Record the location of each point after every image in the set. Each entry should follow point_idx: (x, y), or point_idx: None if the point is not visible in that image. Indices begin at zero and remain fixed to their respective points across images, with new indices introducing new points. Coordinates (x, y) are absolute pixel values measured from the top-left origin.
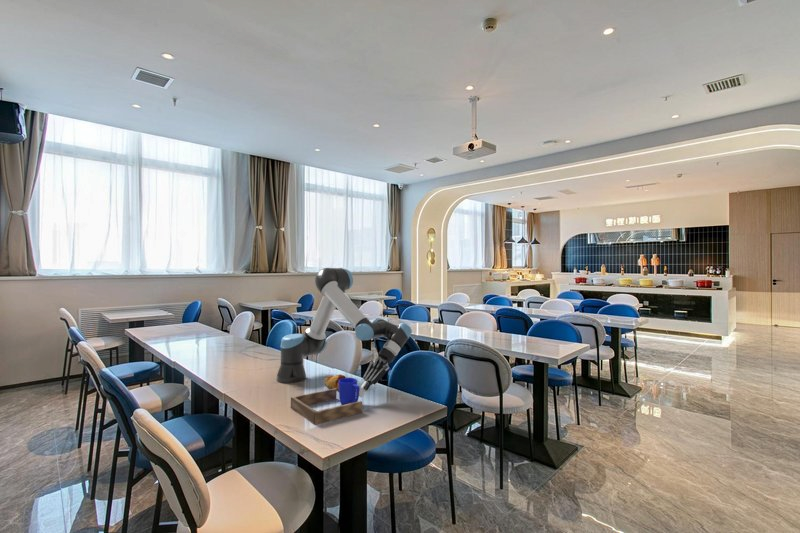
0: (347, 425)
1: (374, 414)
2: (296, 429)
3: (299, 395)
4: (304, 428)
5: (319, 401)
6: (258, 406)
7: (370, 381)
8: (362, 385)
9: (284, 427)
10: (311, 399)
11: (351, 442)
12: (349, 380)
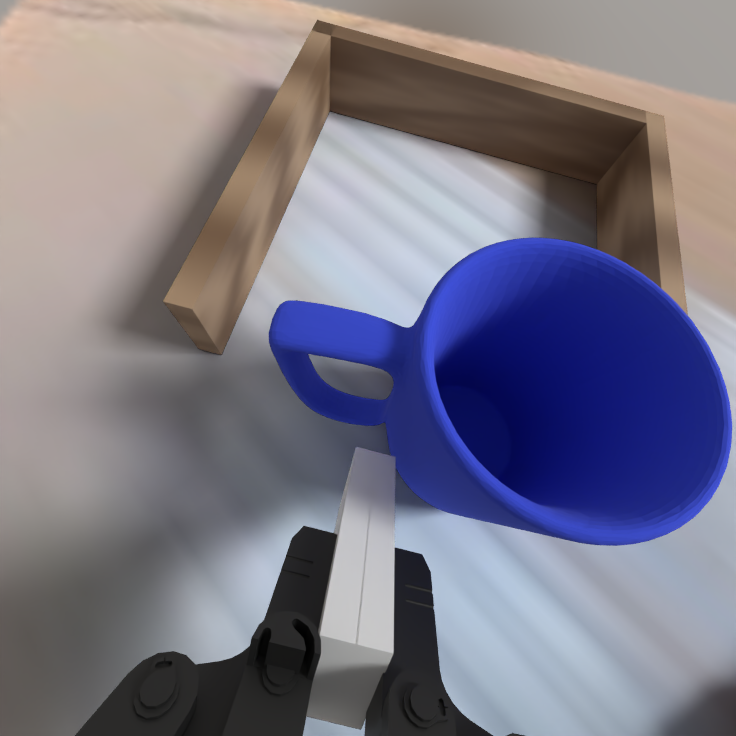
0: (155, 156)
1: (79, 378)
2: None
3: (668, 157)
4: None
5: None
6: (719, 124)
7: (232, 689)
8: (373, 545)
9: (403, 38)
10: (621, 244)
11: (13, 44)
12: (645, 490)
